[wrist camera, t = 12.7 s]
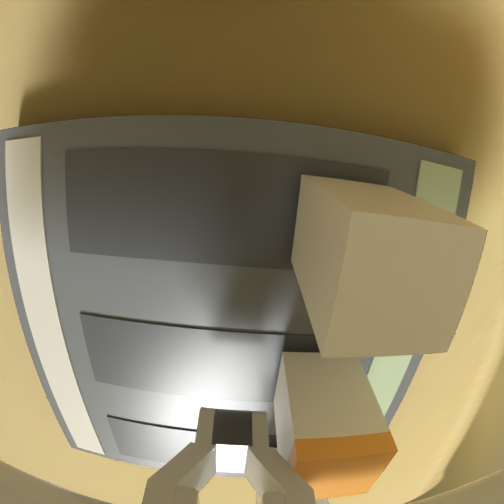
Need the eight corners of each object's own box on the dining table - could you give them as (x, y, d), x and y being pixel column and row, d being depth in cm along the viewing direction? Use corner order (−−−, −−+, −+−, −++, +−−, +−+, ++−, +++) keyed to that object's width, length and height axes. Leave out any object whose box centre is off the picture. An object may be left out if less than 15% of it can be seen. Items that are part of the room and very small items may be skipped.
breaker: (301, 174, 9) (352, 211, 5) (390, 186, 10) (487, 230, 5) (291, 260, 10) (321, 357, 6) (375, 266, 11) (447, 352, 6)
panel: (17, 129, 10) (-5, 130, 9) (454, 157, 11) (476, 161, 10) (78, 432, 17) (71, 448, 15) (355, 455, 18) (360, 473, 16)
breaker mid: (282, 351, 12) (297, 460, 7) (356, 352, 12) (397, 450, 7) (273, 401, 13) (281, 501, 8) (339, 400, 13) (366, 493, 8)
